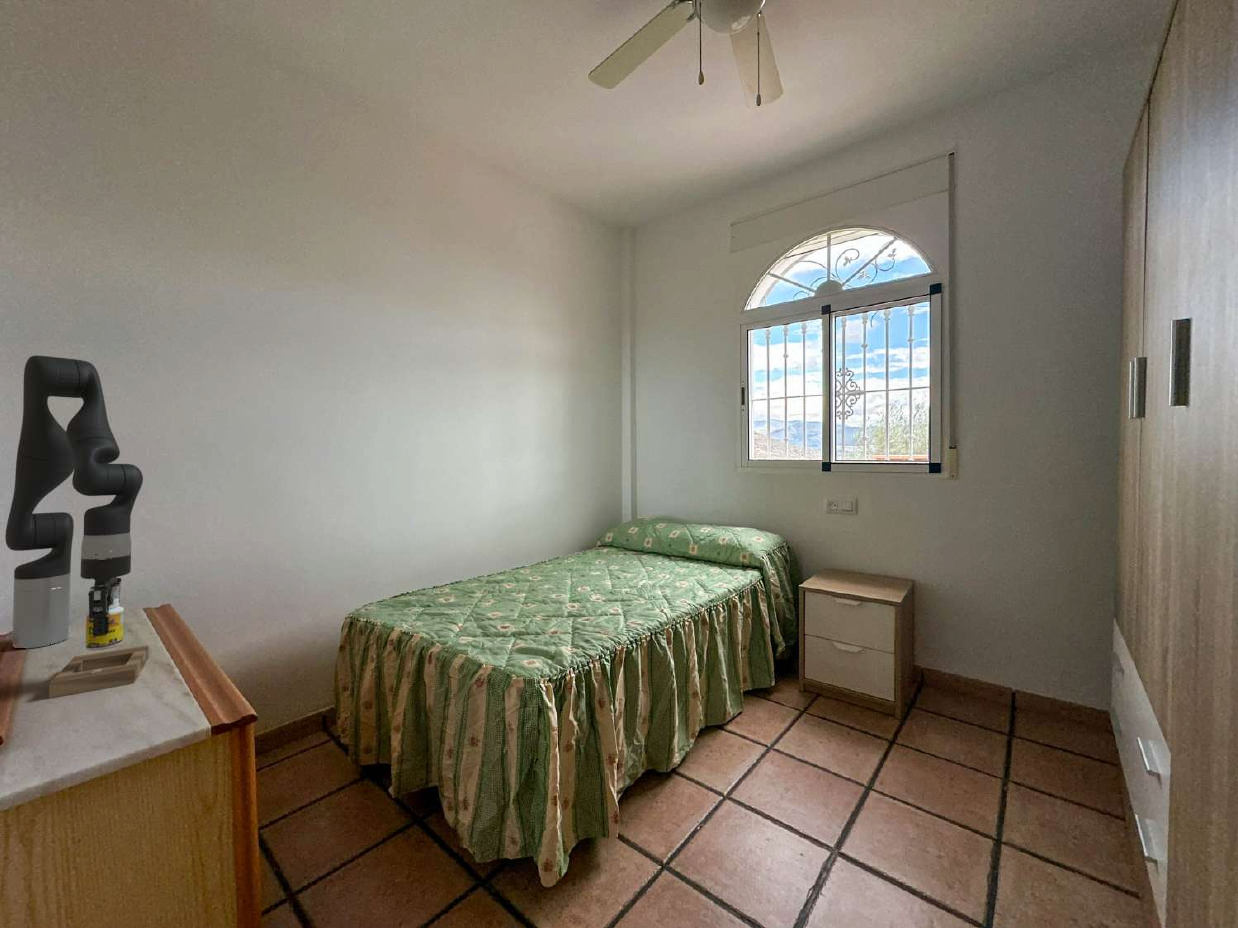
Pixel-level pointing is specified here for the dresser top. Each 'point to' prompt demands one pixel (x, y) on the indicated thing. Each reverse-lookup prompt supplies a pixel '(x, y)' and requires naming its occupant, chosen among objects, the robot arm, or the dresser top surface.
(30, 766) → the dresser top surface
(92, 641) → the supplement bottle
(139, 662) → the holder block
